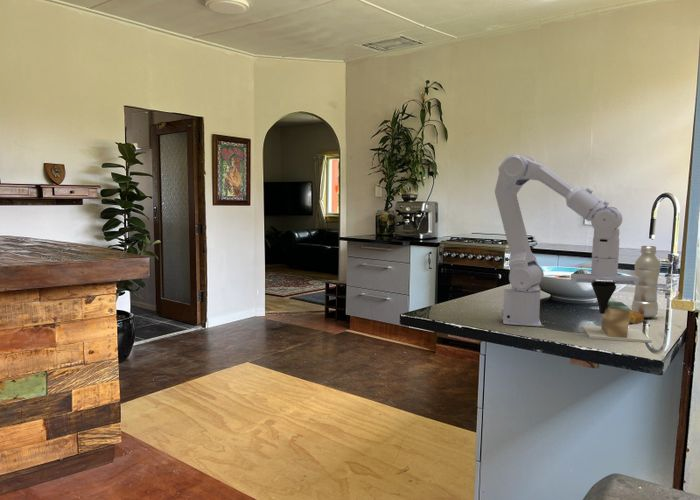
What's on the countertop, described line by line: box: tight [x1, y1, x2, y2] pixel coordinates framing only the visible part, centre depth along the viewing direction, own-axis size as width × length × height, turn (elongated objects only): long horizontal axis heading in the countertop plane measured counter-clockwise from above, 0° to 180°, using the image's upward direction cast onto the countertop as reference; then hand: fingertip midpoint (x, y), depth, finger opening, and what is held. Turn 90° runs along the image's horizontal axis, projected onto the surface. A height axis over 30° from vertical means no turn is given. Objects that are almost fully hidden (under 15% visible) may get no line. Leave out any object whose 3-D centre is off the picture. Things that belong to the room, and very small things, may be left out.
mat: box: [581, 324, 652, 344], centre depth 126 cm, size 13×11×1 cm
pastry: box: [628, 309, 645, 325], centre depth 140 cm, size 9×7×4 cm
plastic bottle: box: [631, 245, 662, 319], centre depth 144 cm, size 6×7×20 cm
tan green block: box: [600, 300, 631, 338], centre depth 125 cm, size 4×8×7 cm, turn 165°
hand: (602, 312), depth 126 cm, fingers closed
